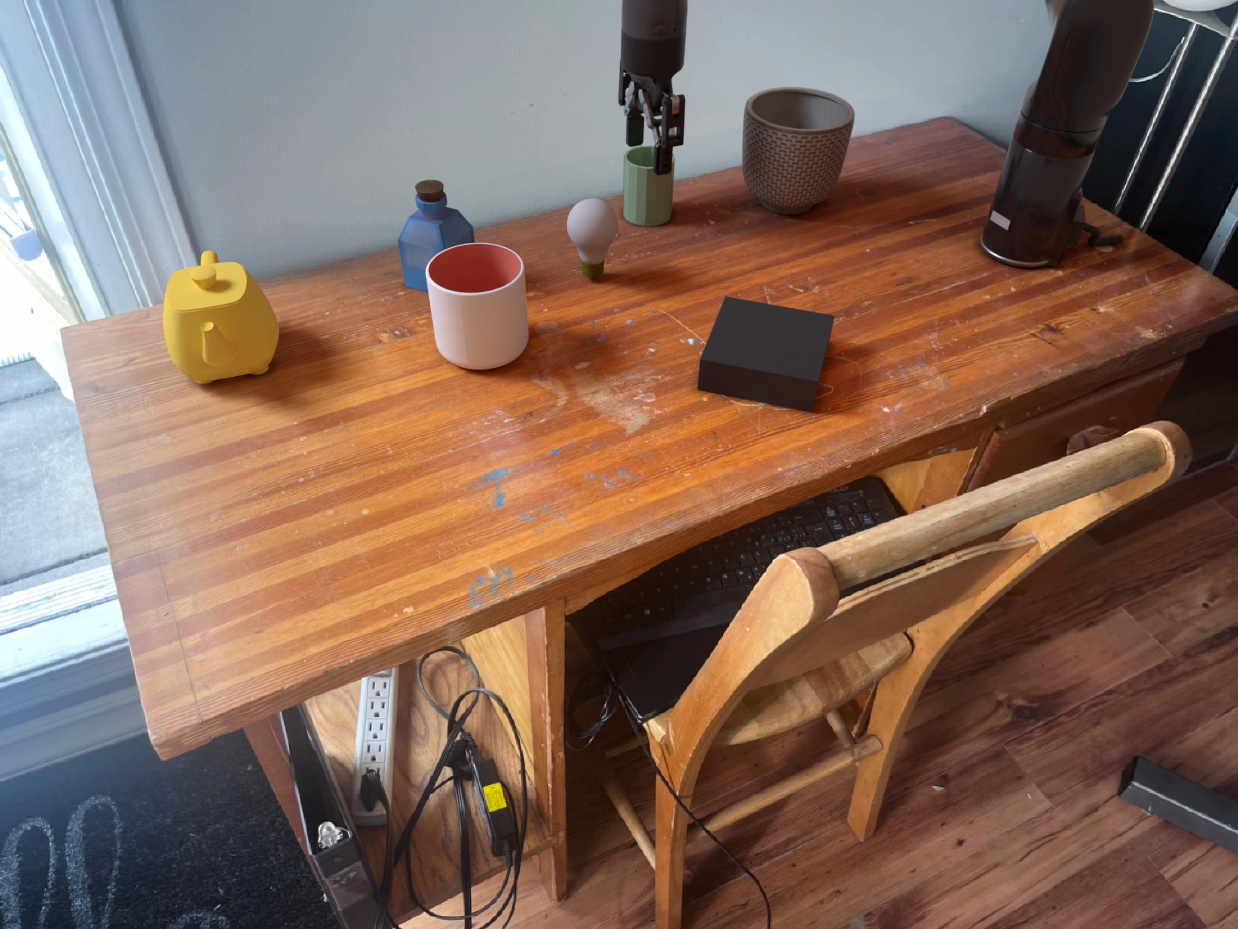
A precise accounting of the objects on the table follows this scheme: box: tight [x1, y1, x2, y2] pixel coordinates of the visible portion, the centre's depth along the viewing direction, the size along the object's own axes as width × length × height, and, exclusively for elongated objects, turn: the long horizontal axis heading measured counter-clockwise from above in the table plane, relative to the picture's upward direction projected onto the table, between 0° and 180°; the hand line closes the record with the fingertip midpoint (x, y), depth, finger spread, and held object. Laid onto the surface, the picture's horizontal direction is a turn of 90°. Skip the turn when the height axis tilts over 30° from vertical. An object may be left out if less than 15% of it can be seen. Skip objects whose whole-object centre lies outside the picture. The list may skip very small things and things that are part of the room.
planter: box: [741, 86, 856, 215], centre depth 123 cm, size 14×14×13 cm
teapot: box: [162, 250, 280, 385], centre depth 97 cm, size 18×11×11 cm, turn 18°
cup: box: [426, 242, 530, 371], centre depth 99 cm, size 10×10×10 cm
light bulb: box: [566, 198, 619, 280], centre depth 110 cm, size 6×6×10 cm
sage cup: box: [622, 145, 676, 227], centre depth 122 cm, size 6×6×8 cm
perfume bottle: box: [397, 179, 476, 293], centre depth 108 cm, size 6×6×12 cm
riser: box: [697, 296, 835, 413], centre depth 100 cm, size 12×12×4 cm
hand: (647, 158), depth 119 cm, fingers open, 8 cm apart
